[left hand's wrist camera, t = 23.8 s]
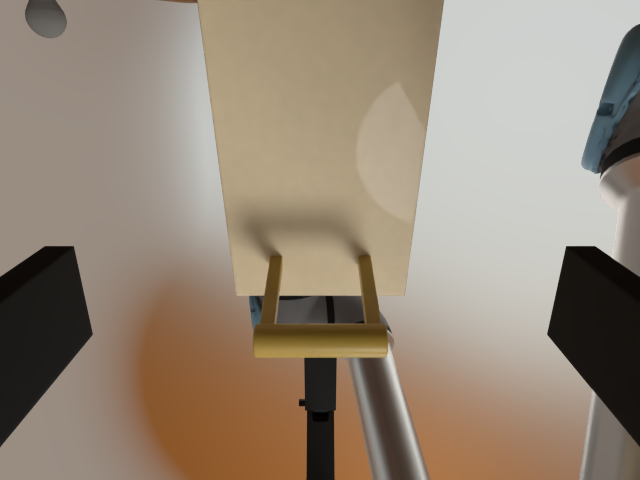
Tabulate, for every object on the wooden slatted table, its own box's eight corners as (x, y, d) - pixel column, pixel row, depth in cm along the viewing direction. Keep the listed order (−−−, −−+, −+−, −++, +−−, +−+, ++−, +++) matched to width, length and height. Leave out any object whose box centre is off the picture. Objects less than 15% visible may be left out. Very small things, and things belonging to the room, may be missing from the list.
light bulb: (49, -32, 72) (62, 37, 76) (63, -26, 77) (74, 38, 81) (8, -33, 71) (23, 37, 75) (24, -27, 77) (38, 38, 80)
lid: (401, 282, 29) (427, 391, 22) (239, 282, 29) (213, 391, 22) (438, -7, 20) (501, 23, 13) (202, -7, 20) (140, 23, 13)
